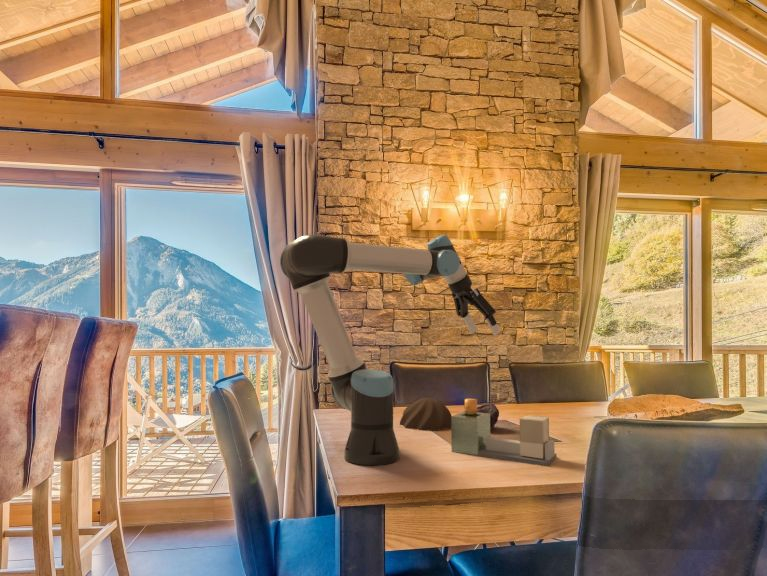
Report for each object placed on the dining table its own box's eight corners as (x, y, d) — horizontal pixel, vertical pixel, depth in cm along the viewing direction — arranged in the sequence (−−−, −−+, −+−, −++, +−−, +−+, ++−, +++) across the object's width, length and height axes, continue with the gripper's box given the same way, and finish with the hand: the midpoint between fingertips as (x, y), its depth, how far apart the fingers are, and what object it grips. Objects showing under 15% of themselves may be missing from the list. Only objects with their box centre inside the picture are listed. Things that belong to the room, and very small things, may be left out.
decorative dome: (459, 422, 187) (459, 395, 188) (445, 433, 169) (445, 403, 170) (410, 418, 195) (410, 392, 195) (392, 428, 176) (392, 399, 177)
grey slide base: (547, 466, 129) (546, 446, 130) (477, 455, 140) (477, 437, 140) (556, 457, 138) (556, 438, 138) (490, 447, 148) (490, 430, 148)
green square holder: (477, 455, 140) (477, 419, 140) (451, 451, 144) (451, 416, 145) (490, 447, 148) (490, 413, 149) (465, 444, 152) (465, 411, 153)
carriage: (542, 458, 132) (541, 421, 132) (520, 455, 135) (519, 418, 136) (549, 453, 137) (548, 417, 138) (527, 450, 141) (526, 415, 141)
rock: (467, 434, 172) (496, 436, 167) (465, 410, 171) (494, 411, 166) (477, 423, 182) (505, 424, 177) (475, 400, 181) (503, 401, 177)
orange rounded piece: (474, 415, 144) (474, 400, 144) (462, 414, 146) (462, 399, 146) (479, 413, 147) (478, 399, 148) (467, 412, 149) (467, 398, 149)
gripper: (486, 270, 157) (516, 327, 160) (447, 275, 180) (473, 325, 183) (469, 282, 155) (499, 340, 158) (431, 286, 178) (458, 336, 181)
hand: (485, 332), depth 171 cm, fingers open, 13 cm apart
